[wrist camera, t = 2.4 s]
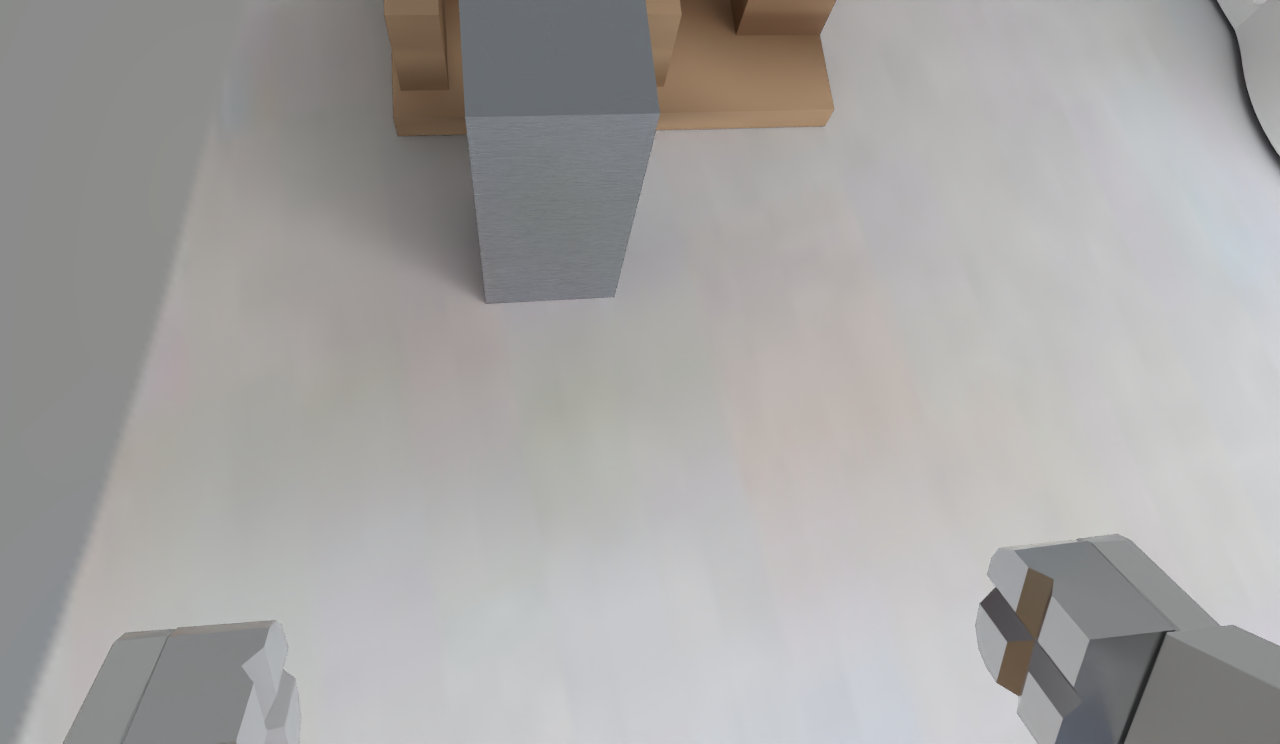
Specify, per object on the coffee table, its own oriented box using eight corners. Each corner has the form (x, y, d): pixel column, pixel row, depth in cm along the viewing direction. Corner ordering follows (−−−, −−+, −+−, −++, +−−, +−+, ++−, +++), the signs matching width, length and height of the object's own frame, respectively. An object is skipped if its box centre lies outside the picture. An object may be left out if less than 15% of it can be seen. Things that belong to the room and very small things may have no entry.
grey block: (614, 296, 28) (660, 113, 18) (486, 303, 27) (465, 117, 18) (598, 144, 29) (632, -97, 20) (476, 147, 29) (453, -100, 19)
